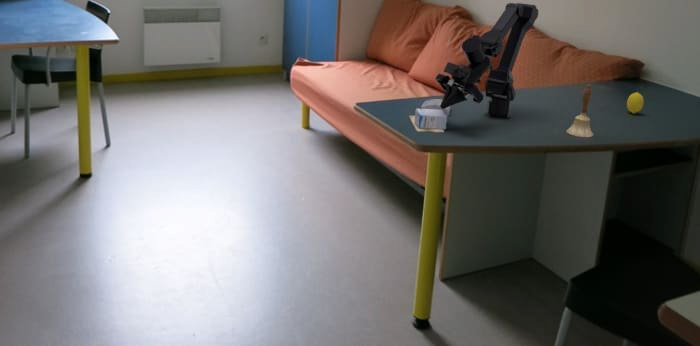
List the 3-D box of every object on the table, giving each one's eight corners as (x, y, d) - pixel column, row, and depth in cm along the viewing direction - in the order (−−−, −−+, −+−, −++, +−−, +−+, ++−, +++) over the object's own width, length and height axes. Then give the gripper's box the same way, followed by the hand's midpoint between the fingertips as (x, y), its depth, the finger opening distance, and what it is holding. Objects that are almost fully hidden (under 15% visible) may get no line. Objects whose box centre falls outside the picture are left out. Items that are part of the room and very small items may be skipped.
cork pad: (433, 117, 240) (434, 116, 239) (444, 132, 224) (444, 131, 223) (408, 116, 239) (408, 115, 239) (417, 131, 223) (417, 130, 223)
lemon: (641, 113, 264) (646, 91, 261) (640, 116, 259) (644, 94, 256) (625, 110, 266) (629, 89, 263) (624, 114, 261) (628, 92, 258)
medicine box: (440, 122, 233) (414, 121, 232) (442, 109, 231) (415, 108, 230) (445, 129, 225) (418, 128, 225) (447, 115, 224) (419, 114, 223)
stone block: (421, 120, 243) (451, 117, 241) (419, 106, 242) (449, 103, 240) (424, 112, 254) (453, 110, 252) (422, 99, 253) (451, 96, 251)
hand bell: (598, 136, 231) (607, 86, 226) (581, 138, 227) (590, 88, 222) (578, 129, 238) (586, 81, 232) (560, 131, 233) (569, 82, 228)
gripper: (443, 47, 230) (410, 84, 228) (480, 59, 215) (446, 98, 213) (460, 71, 236) (429, 106, 234) (497, 84, 221) (464, 122, 219)
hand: (441, 107), depth 225 cm, fingers closed
